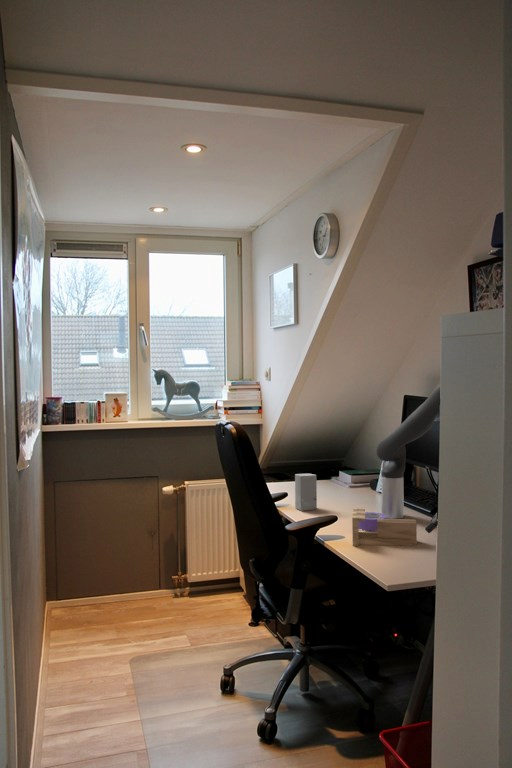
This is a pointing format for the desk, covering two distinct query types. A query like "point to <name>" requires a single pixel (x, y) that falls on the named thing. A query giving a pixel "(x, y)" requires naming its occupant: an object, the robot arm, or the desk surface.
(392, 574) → the desk surface
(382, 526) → the light brown wooden block
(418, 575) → the desk surface
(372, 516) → the tape roll
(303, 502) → the skincare box
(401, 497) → the robot arm
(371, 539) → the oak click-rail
